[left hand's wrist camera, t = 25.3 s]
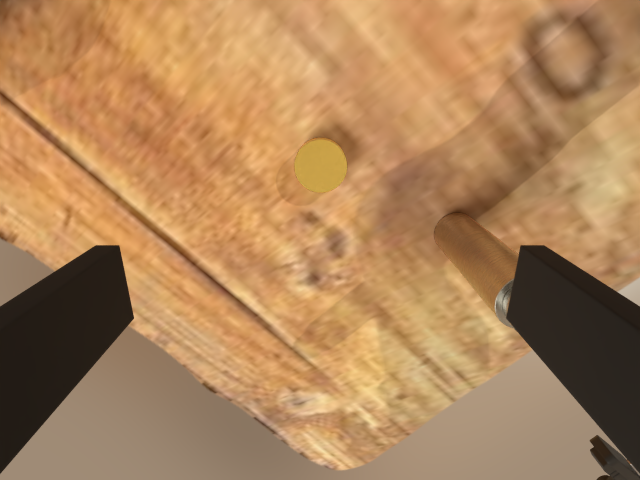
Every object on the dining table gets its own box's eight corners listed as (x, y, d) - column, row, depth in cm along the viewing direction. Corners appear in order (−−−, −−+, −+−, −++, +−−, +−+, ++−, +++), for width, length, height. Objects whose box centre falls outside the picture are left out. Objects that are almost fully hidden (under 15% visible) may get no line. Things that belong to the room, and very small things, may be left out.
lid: (354, 172, 39) (356, 176, 37) (311, 196, 40) (311, 201, 38) (330, 127, 37) (330, 129, 35) (286, 154, 38) (284, 156, 36)
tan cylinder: (430, 250, 42) (500, 344, 26) (437, 211, 40) (516, 284, 24) (471, 252, 42) (566, 347, 26) (479, 213, 40) (586, 288, 24)
